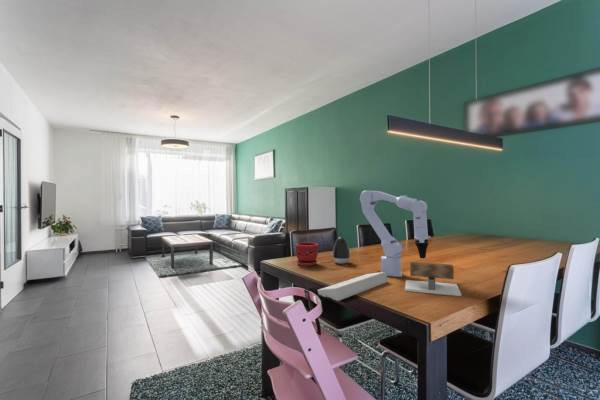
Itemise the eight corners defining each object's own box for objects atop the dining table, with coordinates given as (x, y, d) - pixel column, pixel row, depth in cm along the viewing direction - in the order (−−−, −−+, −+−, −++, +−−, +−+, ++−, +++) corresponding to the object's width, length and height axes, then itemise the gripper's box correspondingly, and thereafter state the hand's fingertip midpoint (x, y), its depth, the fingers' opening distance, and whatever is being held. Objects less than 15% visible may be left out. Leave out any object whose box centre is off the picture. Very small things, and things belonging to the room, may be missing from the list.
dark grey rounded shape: (334, 265, 166) (333, 238, 166) (331, 261, 176) (331, 235, 176) (352, 264, 166) (351, 237, 166) (348, 260, 177) (347, 235, 177)
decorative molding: (319, 302, 115) (338, 301, 108) (317, 290, 116) (335, 288, 109) (369, 284, 138) (388, 282, 131) (367, 273, 139) (385, 271, 132)
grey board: (405, 290, 119) (405, 288, 119) (405, 282, 131) (405, 279, 131) (461, 296, 111) (461, 293, 111) (456, 286, 123) (456, 284, 123)
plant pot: (319, 266, 163) (319, 245, 163) (295, 267, 163) (295, 245, 163) (317, 261, 176) (317, 241, 176) (295, 262, 176) (295, 242, 176)
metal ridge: (428, 289, 117) (428, 279, 117) (427, 282, 126) (427, 273, 126) (435, 290, 116) (435, 279, 116) (433, 283, 125) (433, 273, 125)
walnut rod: (410, 276, 122) (410, 263, 122) (410, 273, 125) (410, 262, 125) (453, 279, 116) (453, 266, 116) (452, 277, 120) (452, 264, 120)
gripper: (430, 228, 127) (433, 259, 126) (429, 225, 140) (431, 254, 140) (413, 228, 129) (415, 259, 129) (413, 225, 143) (415, 253, 143)
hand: (422, 256), depth 135 cm, fingers open, 7 cm apart
